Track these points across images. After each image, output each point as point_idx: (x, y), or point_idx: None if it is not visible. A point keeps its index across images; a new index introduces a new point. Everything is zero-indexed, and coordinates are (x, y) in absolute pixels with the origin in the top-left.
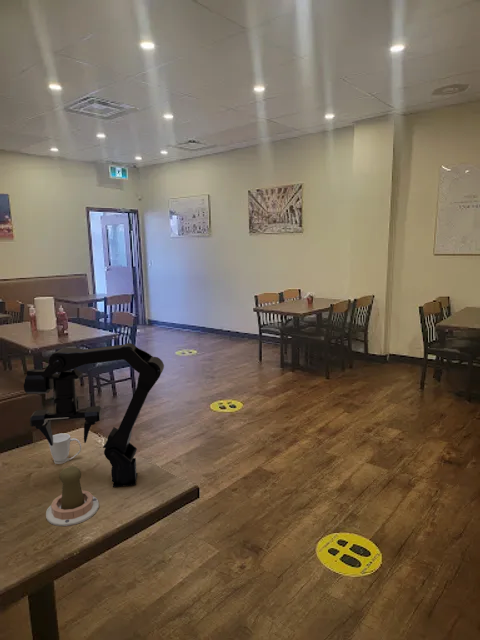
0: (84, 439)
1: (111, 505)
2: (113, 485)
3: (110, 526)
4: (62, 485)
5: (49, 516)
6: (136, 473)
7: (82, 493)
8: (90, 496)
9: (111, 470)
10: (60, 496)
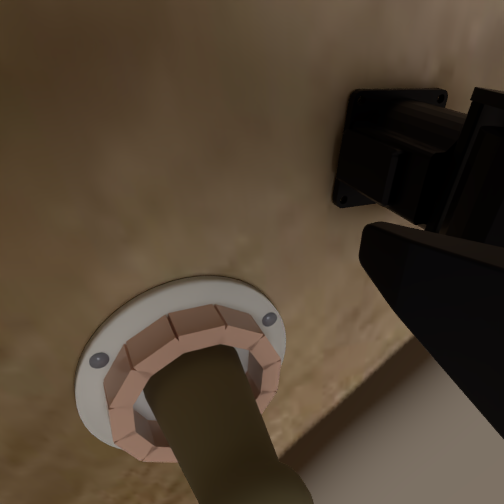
0: (397, 306)
1: (322, 319)
2: (339, 205)
3: (317, 405)
4: (196, 497)
5: (110, 434)
6: (443, 95)
7: (254, 398)
8: (272, 362)
9: (378, 203)
10: (134, 385)
